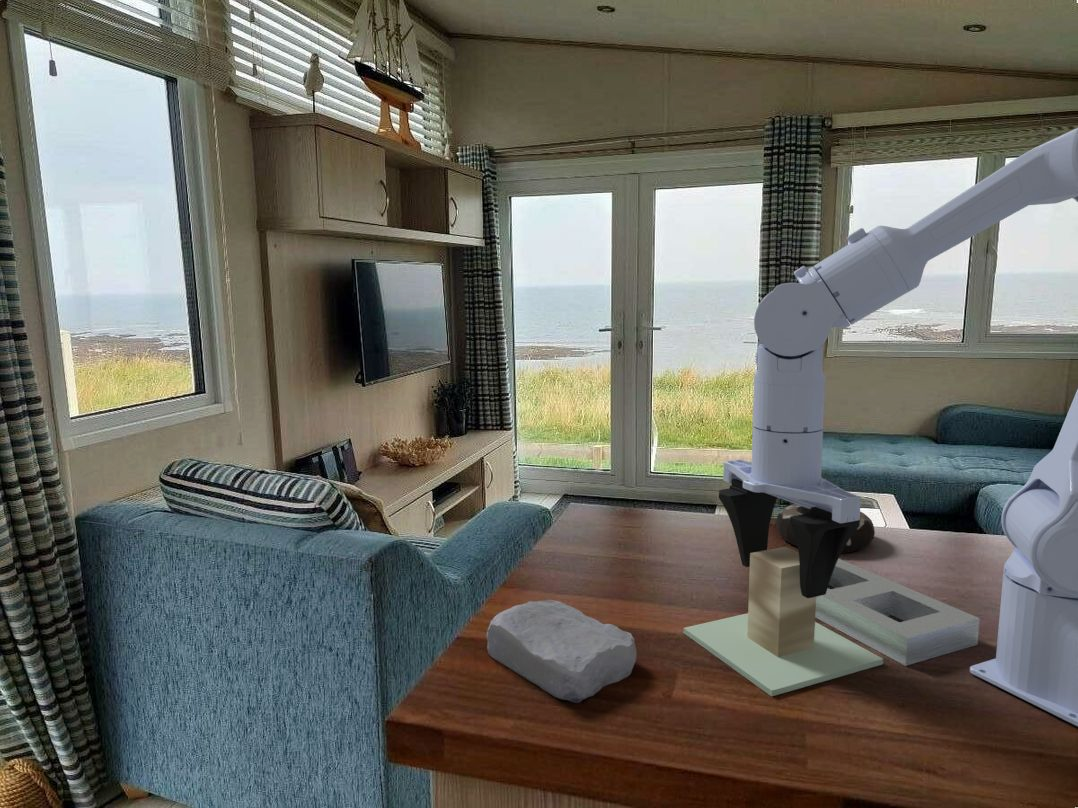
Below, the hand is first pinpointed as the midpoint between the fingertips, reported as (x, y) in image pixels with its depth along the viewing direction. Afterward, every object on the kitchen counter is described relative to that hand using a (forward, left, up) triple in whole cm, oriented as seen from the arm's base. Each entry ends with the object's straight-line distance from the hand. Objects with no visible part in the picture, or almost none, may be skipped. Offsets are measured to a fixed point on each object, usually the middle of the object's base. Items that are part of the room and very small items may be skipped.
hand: (781, 578), depth 65 cm
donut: (+20, -25, -7) cm, 33 cm away
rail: (+2, -12, -7) cm, 14 cm away
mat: (0, 0, -7) cm, 7 cm away
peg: (0, 0, -6) cm, 6 cm away
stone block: (+6, +18, -7) cm, 20 cm away
